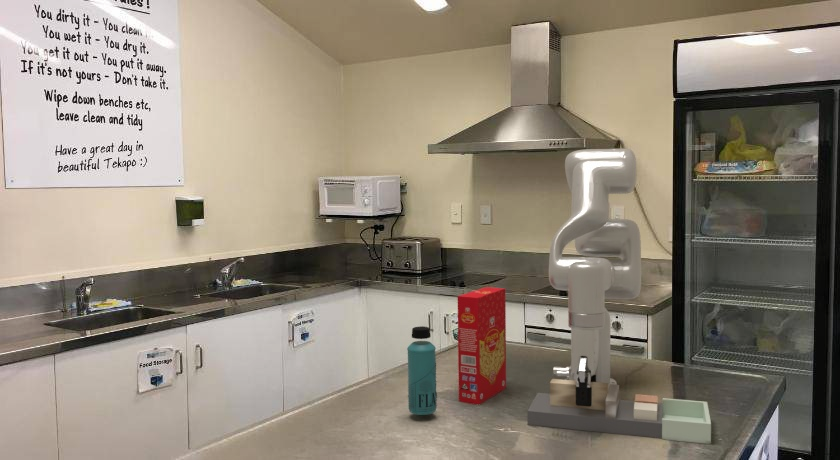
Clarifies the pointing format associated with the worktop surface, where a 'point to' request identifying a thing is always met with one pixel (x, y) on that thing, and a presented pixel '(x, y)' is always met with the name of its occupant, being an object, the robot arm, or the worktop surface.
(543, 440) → the worktop surface
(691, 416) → the grey platform with tray
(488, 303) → the food packaging
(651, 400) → the tile terracotta
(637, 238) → the robot arm
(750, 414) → the worktop surface
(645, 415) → the tile cream
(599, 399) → the scraper
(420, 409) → the beverage bottle
